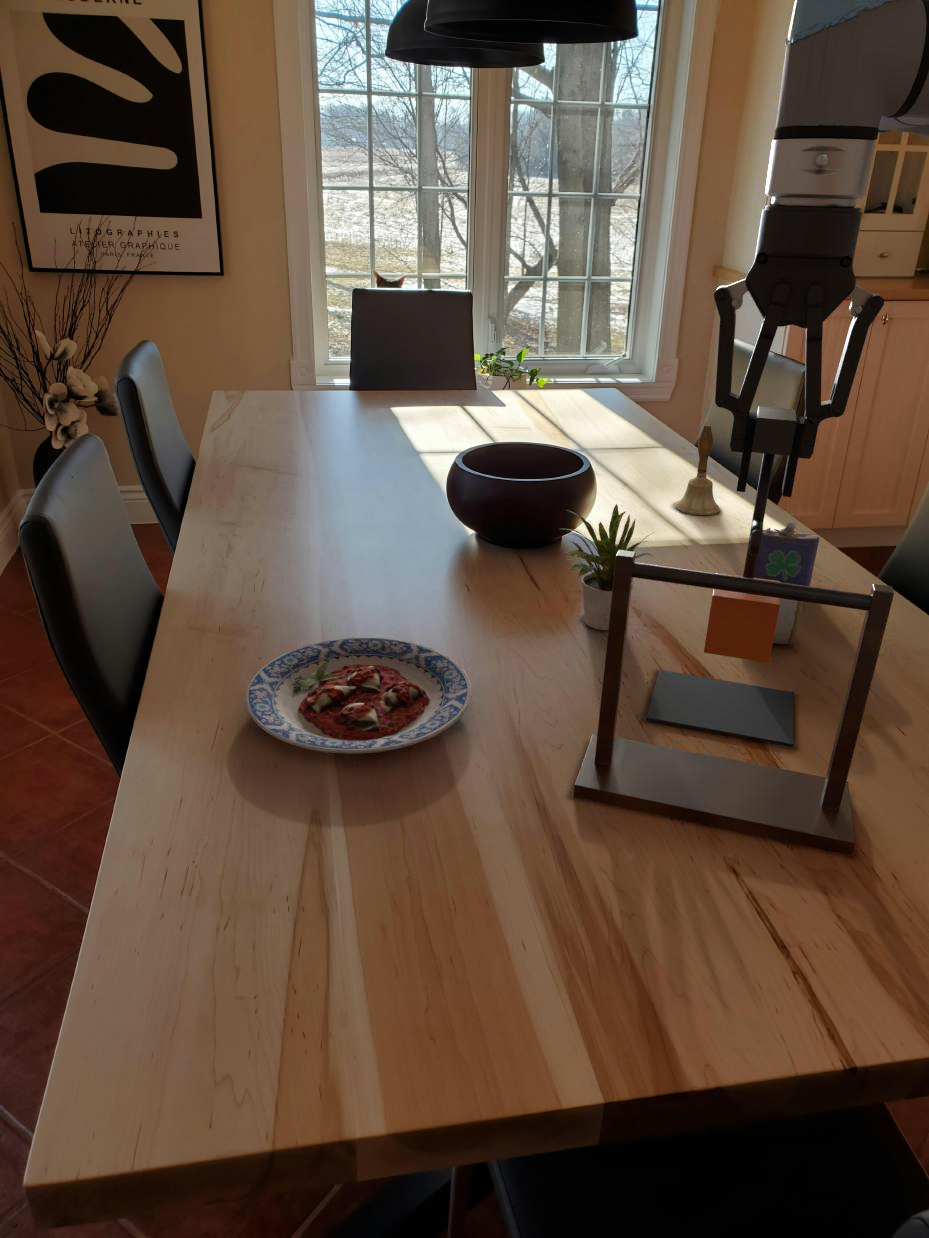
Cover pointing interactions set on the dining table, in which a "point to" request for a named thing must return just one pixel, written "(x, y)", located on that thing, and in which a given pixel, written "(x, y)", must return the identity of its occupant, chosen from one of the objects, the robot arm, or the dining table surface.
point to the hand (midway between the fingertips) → (763, 489)
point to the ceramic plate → (358, 695)
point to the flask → (787, 556)
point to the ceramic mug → (787, 621)
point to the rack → (720, 784)
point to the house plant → (601, 581)
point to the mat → (723, 707)
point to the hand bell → (700, 482)
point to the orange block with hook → (752, 558)
